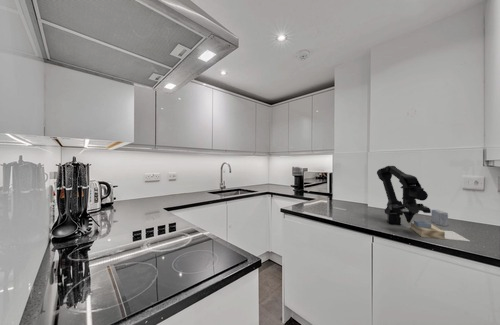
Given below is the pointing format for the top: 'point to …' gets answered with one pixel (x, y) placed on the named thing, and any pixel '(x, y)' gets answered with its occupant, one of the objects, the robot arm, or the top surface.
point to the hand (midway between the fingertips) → (408, 222)
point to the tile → (422, 224)
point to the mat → (454, 236)
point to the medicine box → (439, 217)
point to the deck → (429, 231)
